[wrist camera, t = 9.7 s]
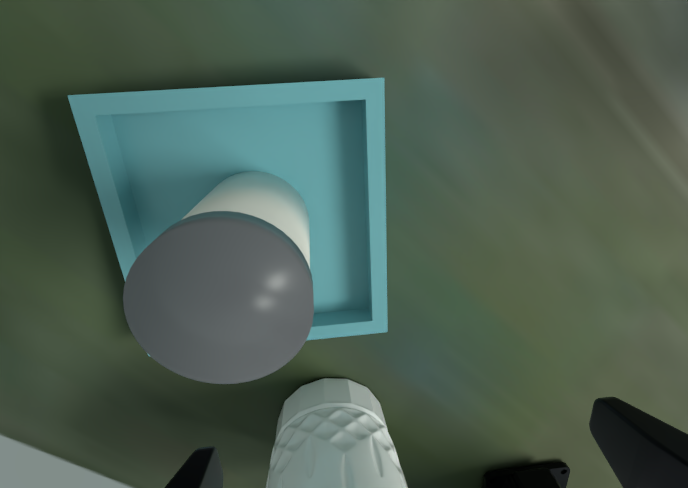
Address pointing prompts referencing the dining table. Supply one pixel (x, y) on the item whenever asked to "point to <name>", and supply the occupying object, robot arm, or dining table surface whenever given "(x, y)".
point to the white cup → (333, 440)
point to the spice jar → (227, 284)
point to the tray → (254, 155)
